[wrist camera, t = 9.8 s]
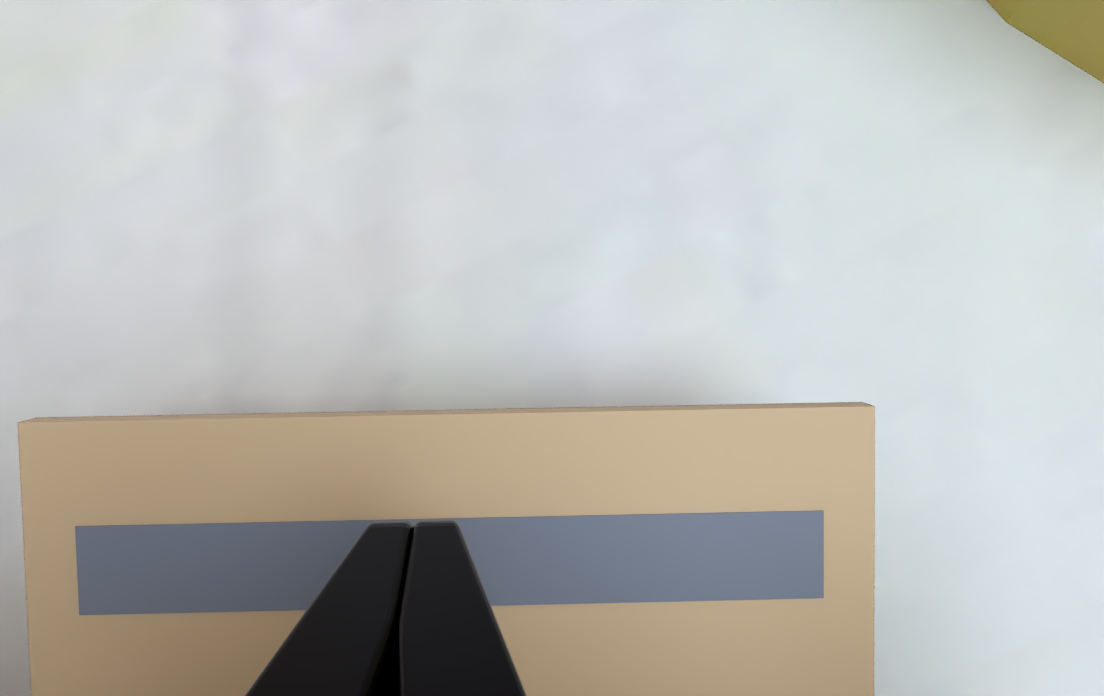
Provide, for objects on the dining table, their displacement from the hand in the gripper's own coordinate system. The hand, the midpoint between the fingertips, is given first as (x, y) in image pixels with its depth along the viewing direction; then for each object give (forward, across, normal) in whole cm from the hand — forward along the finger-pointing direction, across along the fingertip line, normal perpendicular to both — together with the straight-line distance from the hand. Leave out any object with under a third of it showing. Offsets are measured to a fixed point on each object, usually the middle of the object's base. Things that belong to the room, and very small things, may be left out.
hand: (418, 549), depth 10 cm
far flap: (-1, 0, +9) cm, 9 cm away
